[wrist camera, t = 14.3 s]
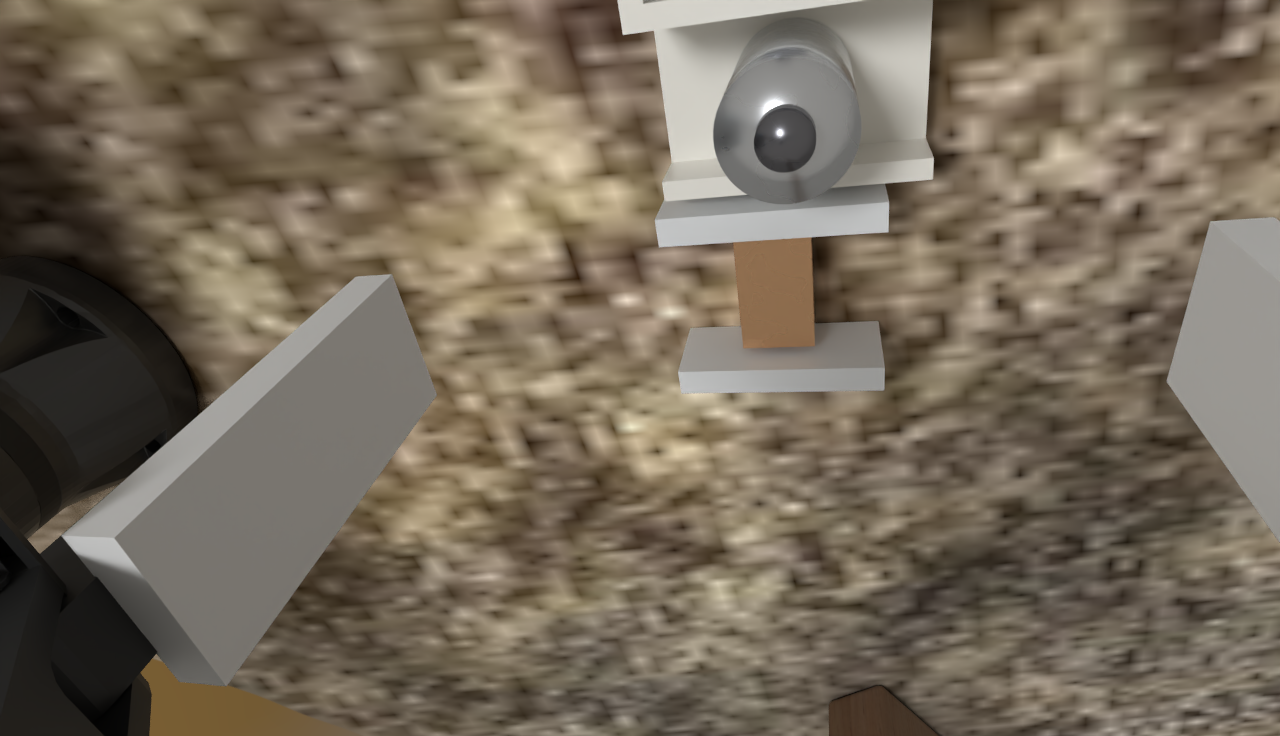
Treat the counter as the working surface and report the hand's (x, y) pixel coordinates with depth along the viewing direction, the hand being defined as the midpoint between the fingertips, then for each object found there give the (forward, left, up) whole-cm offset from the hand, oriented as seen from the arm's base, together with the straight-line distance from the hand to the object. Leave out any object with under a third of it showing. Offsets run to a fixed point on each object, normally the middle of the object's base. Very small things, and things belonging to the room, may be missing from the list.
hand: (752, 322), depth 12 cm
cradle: (-1, -9, -20) cm, 22 cm away
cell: (0, 0, -19) cm, 19 cm away
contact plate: (-1, -9, -20) cm, 22 cm away
